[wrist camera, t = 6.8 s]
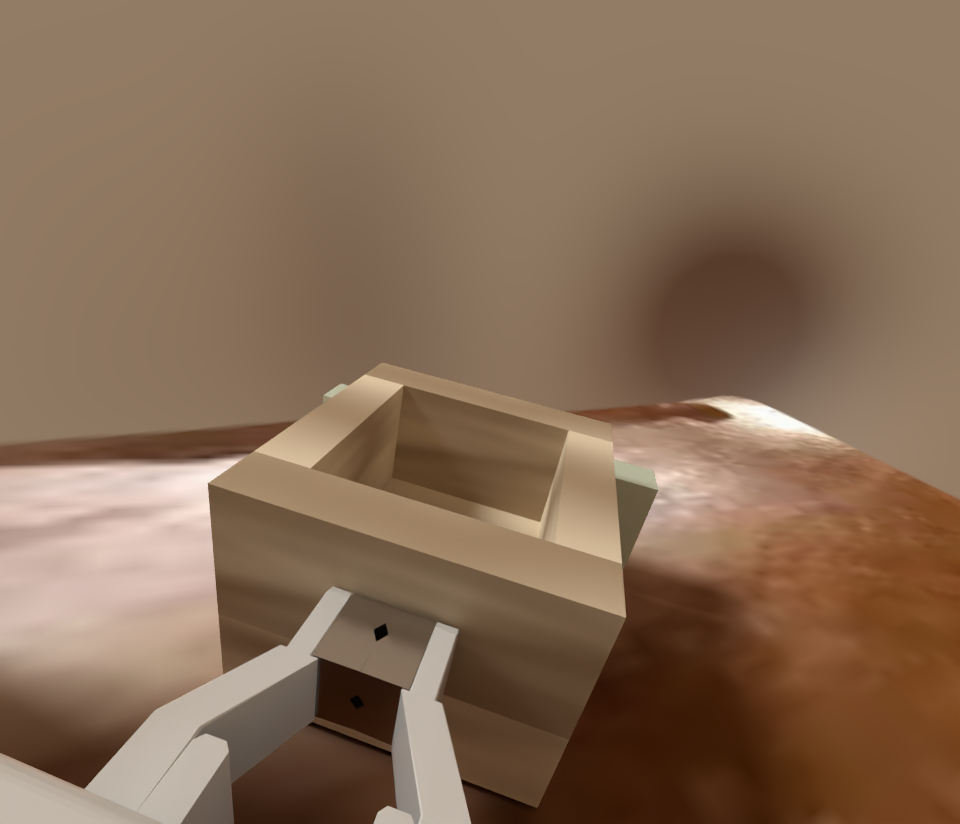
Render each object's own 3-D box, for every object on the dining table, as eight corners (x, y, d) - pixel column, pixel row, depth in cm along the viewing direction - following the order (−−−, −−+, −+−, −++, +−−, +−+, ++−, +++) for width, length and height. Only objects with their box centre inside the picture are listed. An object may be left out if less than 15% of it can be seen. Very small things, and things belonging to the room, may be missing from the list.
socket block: (537, 808, 12) (626, 617, 9) (224, 687, 13) (207, 483, 10) (560, 565, 20) (611, 424, 17) (367, 505, 21) (382, 362, 18)
